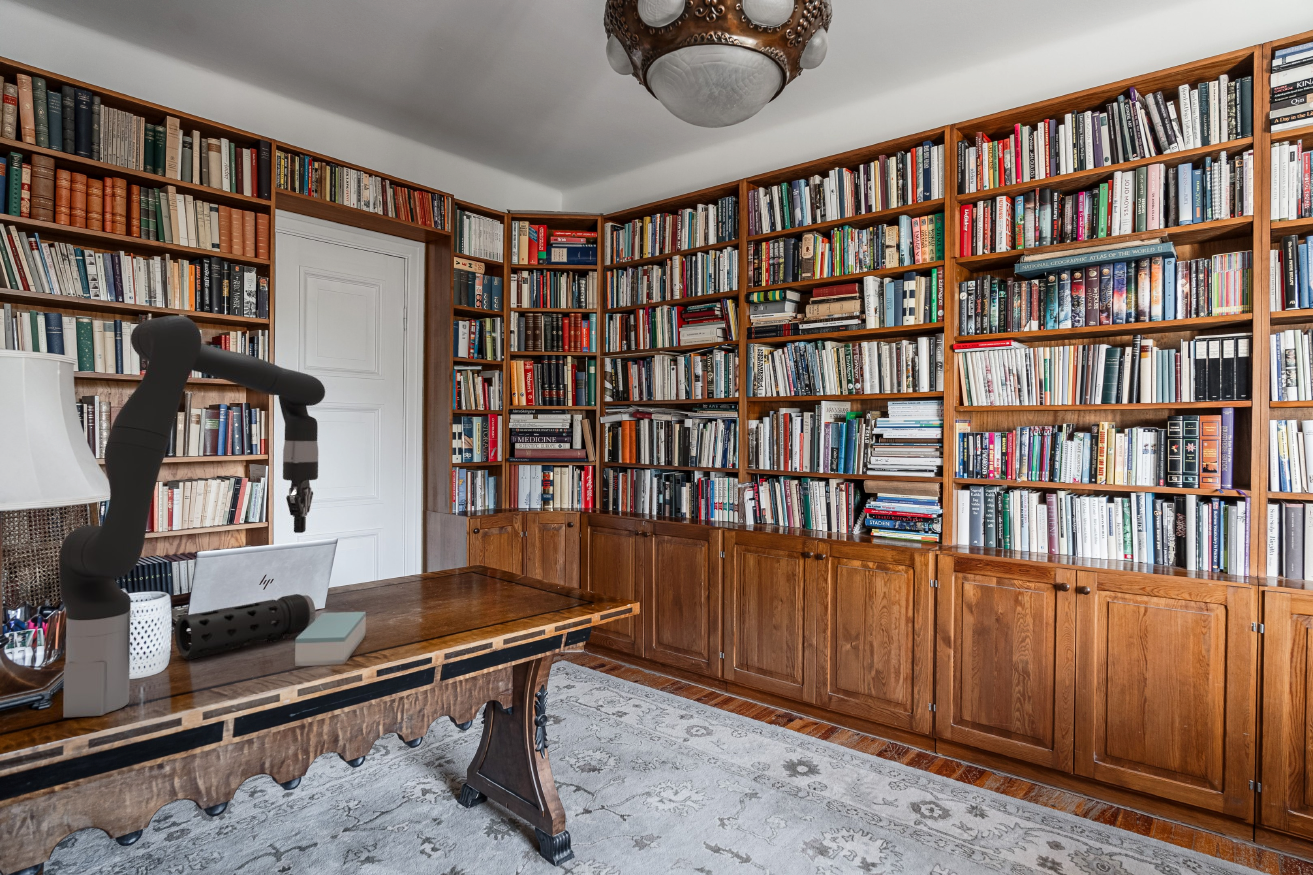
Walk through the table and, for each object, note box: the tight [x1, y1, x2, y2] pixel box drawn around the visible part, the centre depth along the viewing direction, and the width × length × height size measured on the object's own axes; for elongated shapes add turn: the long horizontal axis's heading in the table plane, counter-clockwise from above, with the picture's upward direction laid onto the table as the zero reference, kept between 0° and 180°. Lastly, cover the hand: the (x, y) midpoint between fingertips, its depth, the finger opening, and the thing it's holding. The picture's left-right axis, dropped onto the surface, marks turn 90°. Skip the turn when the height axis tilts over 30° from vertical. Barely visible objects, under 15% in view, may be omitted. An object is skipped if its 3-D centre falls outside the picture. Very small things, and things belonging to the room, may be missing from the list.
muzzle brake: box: [174, 593, 316, 661], centre depth 166 cm, size 10×28×10 cm, turn 145°
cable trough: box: [294, 616, 367, 667], centre depth 164 cm, size 22×10×5 cm, turn 11°
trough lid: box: [294, 611, 367, 644], centre depth 164 cm, size 22×10×1 cm, turn 11°
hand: (299, 532), depth 167 cm, fingers closed
